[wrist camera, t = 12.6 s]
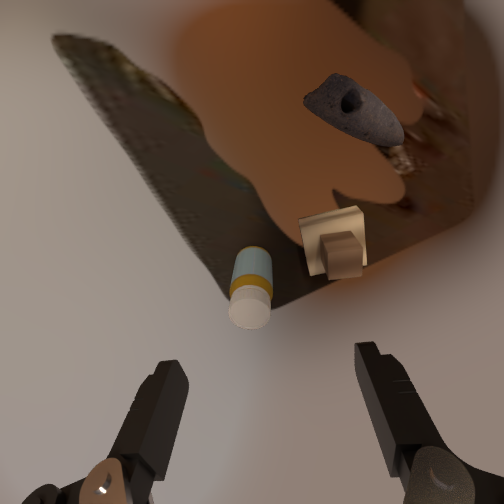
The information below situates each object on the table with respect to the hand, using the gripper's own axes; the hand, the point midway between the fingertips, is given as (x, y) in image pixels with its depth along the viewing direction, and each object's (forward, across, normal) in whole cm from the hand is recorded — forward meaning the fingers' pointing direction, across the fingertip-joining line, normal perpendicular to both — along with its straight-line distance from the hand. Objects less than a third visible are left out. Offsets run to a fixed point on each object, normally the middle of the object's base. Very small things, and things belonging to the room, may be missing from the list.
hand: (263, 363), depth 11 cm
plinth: (+34, -10, +13) cm, 38 cm away
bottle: (+34, +5, +15) cm, 38 cm away
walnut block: (+30, -10, +12) cm, 34 cm away
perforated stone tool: (+34, -14, -7) cm, 38 cm away
